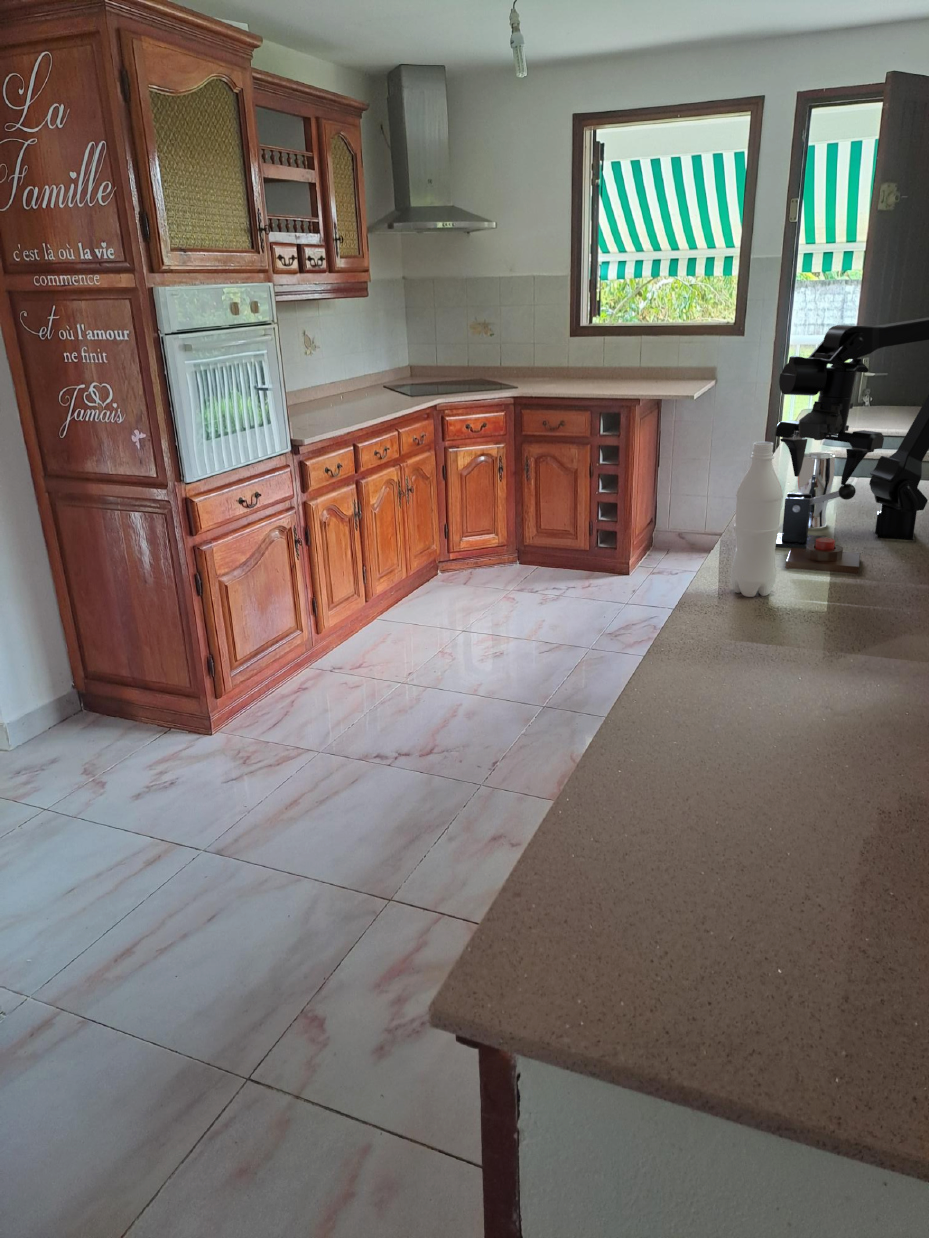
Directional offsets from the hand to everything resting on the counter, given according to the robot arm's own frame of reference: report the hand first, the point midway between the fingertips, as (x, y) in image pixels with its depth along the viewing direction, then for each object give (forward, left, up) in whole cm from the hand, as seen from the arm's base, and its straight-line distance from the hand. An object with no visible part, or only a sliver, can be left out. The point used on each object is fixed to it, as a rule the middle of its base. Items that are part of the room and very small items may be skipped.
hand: (819, 480), depth 168 cm
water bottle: (+7, +32, -13) cm, 35 cm away
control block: (-3, +14, -13) cm, 19 cm away
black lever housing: (+3, +1, -13) cm, 13 cm away
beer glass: (+1, -14, -13) cm, 19 cm away
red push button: (-3, +14, -10) cm, 17 cm away
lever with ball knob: (-1, +1, -5) cm, 5 cm away
